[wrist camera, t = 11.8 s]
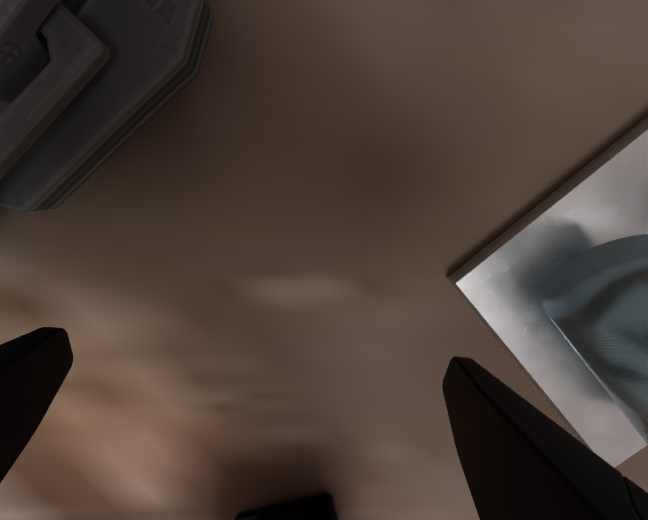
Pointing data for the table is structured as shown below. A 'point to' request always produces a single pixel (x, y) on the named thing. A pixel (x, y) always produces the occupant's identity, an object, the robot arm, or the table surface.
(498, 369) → the table surface
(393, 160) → the table surface
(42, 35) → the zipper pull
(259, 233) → the table surface
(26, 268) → the table surface
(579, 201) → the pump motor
